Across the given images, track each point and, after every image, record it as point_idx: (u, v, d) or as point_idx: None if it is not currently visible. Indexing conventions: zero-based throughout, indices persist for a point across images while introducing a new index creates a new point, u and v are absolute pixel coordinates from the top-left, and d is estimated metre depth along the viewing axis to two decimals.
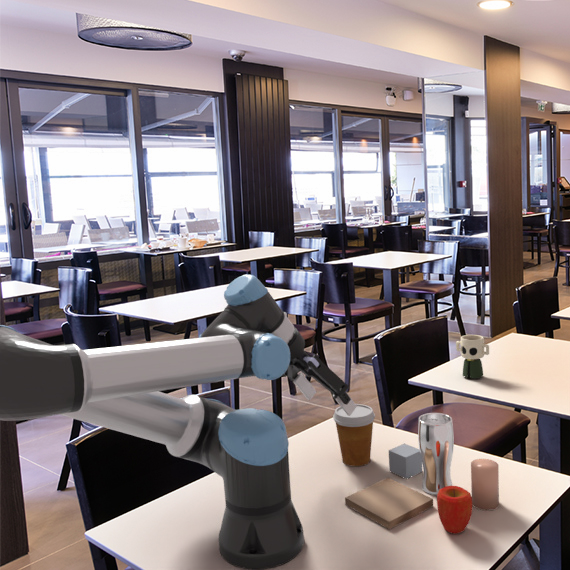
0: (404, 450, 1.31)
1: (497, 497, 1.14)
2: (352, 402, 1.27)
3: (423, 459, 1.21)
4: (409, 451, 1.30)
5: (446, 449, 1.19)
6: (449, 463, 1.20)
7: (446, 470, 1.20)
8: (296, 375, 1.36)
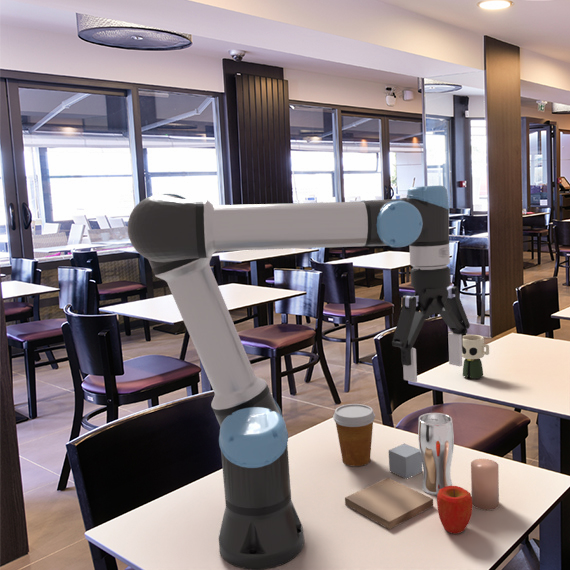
0: (404, 450, 1.31)
1: (497, 497, 1.14)
2: (412, 373, 1.14)
3: (423, 459, 1.21)
4: (409, 451, 1.30)
5: (446, 449, 1.19)
6: (449, 463, 1.20)
7: (446, 470, 1.20)
8: (456, 332, 1.23)
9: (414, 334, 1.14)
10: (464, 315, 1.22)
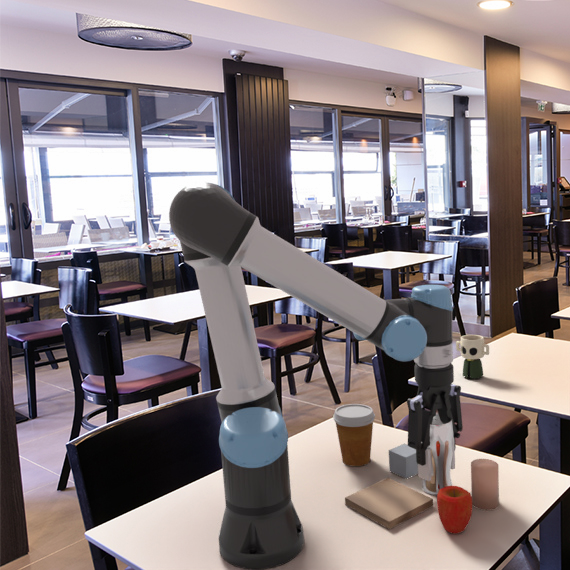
0: (404, 450, 1.31)
1: (497, 497, 1.14)
2: (427, 472, 1.19)
3: None
4: (409, 451, 1.30)
5: (446, 449, 1.19)
6: (449, 463, 1.20)
7: (446, 470, 1.20)
8: None
9: (426, 435, 1.18)
10: (460, 417, 1.24)
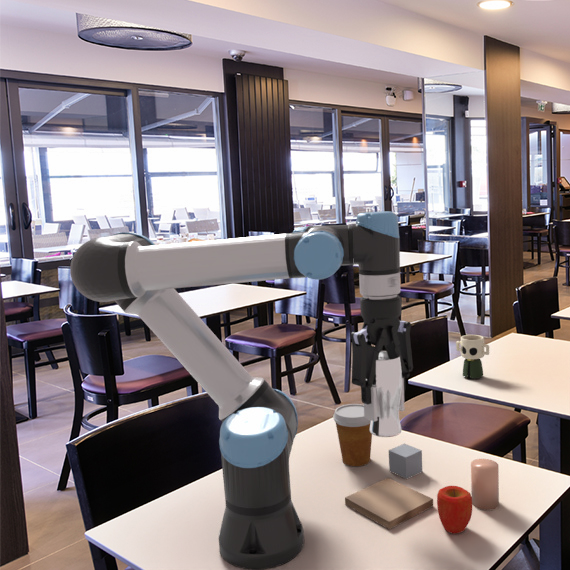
0: (404, 450, 1.31)
1: (497, 497, 1.14)
2: (372, 412, 1.12)
3: None
4: (409, 451, 1.30)
5: (393, 387, 1.11)
6: (397, 403, 1.13)
7: (393, 410, 1.13)
8: None
9: (371, 372, 1.10)
10: (410, 355, 1.16)
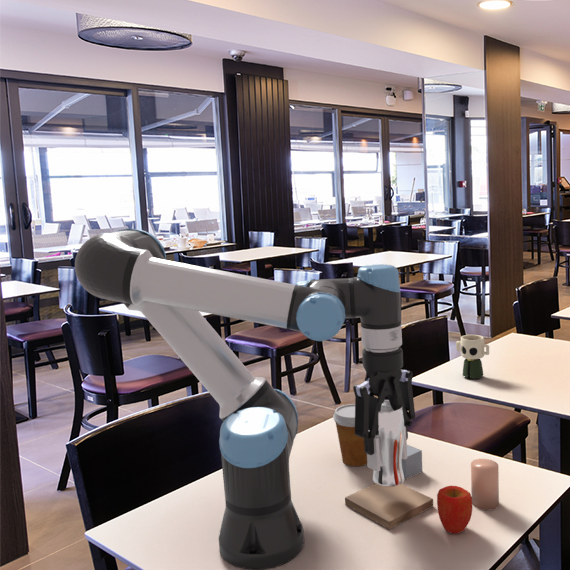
0: None
1: (497, 497, 1.14)
2: (375, 462, 1.13)
3: None
4: (409, 451, 1.30)
5: (395, 437, 1.12)
6: (399, 452, 1.14)
7: (396, 460, 1.14)
8: None
9: (374, 423, 1.12)
10: (412, 404, 1.18)
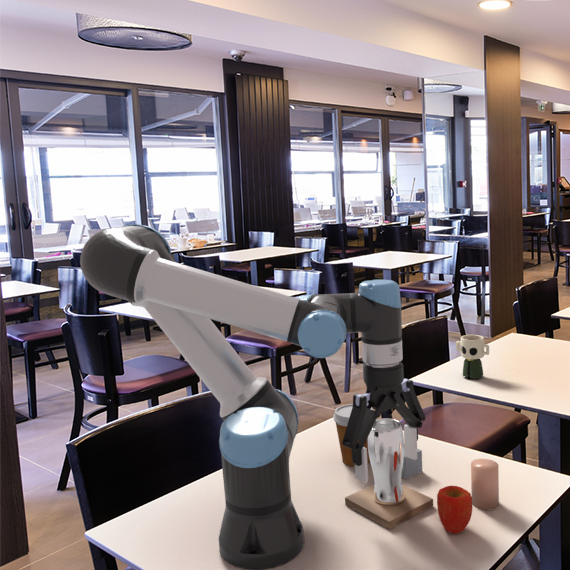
0: (404, 450, 1.31)
1: (497, 497, 1.14)
2: (363, 473, 1.12)
3: (372, 467, 1.16)
4: None
5: (395, 456, 1.13)
6: (399, 471, 1.15)
7: (396, 478, 1.15)
8: (411, 425, 1.20)
9: (365, 434, 1.11)
10: (419, 408, 1.19)
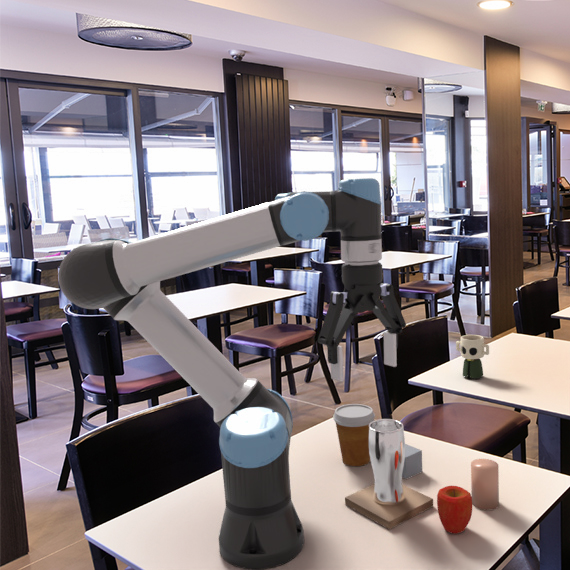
0: None
1: (497, 497, 1.14)
2: (338, 372, 1.11)
3: (373, 467, 1.16)
4: (409, 451, 1.30)
5: (396, 457, 1.13)
6: (400, 472, 1.15)
7: (397, 479, 1.15)
8: (391, 331, 1.19)
9: (341, 331, 1.10)
10: (399, 314, 1.18)
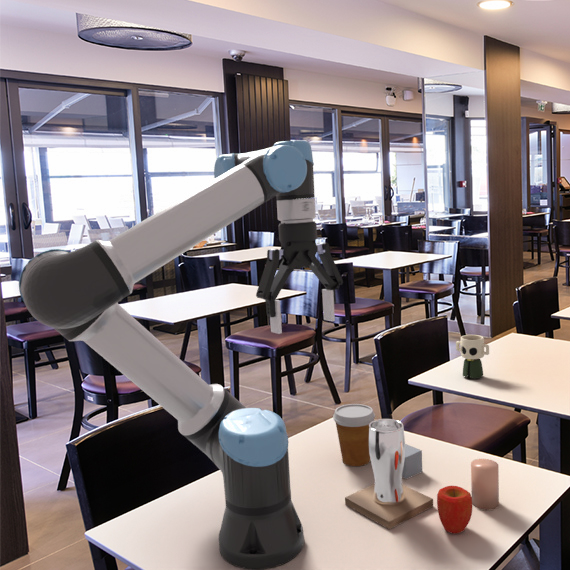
0: None
1: (497, 497, 1.14)
2: (277, 325, 1.17)
3: (373, 467, 1.16)
4: (409, 451, 1.30)
5: (396, 457, 1.13)
6: (400, 472, 1.15)
7: (397, 479, 1.15)
8: (329, 288, 1.25)
9: (278, 286, 1.16)
10: (336, 271, 1.25)
